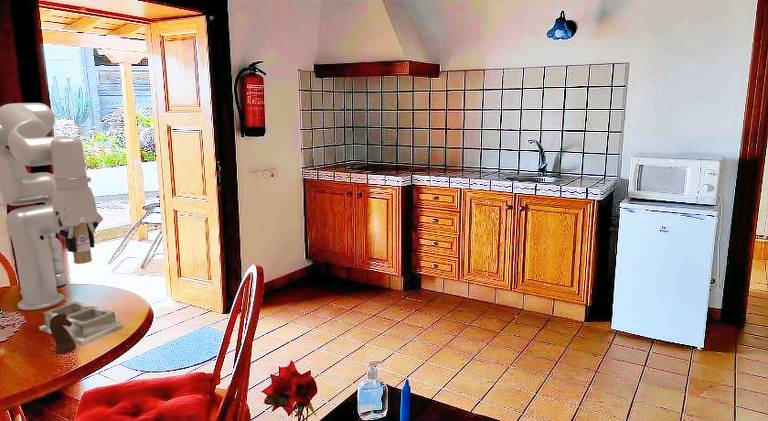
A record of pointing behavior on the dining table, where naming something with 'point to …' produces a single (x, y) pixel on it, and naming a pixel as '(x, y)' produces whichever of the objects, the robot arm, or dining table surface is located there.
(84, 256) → the sprinkles bottle
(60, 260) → the plastic bottle
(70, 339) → the chess piece
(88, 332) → the slot rack
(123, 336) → the dining table surface
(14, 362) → the dining table surface
